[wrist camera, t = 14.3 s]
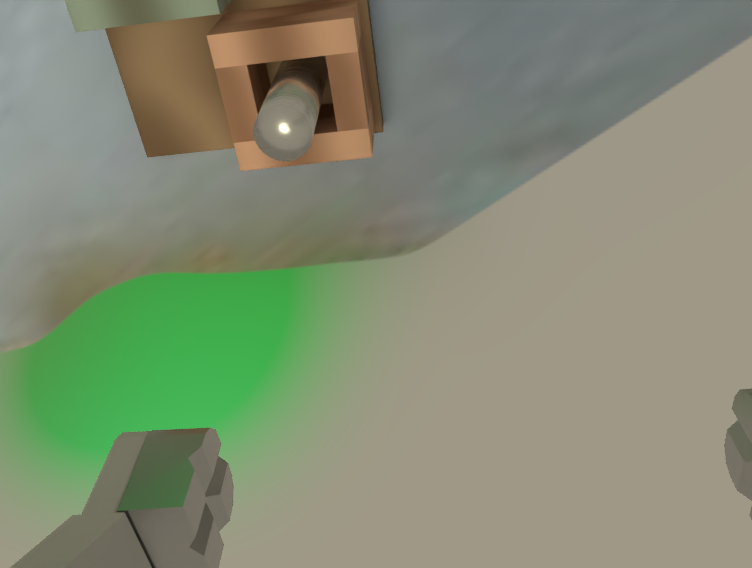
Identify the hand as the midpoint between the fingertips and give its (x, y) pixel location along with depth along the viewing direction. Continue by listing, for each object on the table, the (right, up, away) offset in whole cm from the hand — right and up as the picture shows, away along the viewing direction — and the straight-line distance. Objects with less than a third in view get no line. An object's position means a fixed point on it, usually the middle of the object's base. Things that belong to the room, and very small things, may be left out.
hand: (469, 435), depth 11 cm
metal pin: (-6, +16, +33) cm, 37 cm away
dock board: (-10, +20, +32) cm, 39 cm away
